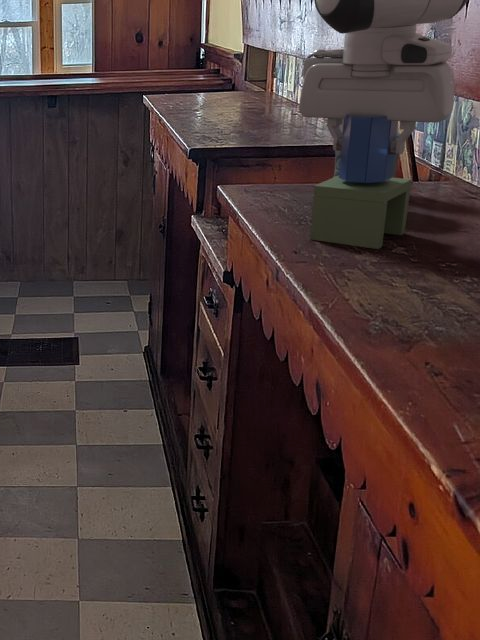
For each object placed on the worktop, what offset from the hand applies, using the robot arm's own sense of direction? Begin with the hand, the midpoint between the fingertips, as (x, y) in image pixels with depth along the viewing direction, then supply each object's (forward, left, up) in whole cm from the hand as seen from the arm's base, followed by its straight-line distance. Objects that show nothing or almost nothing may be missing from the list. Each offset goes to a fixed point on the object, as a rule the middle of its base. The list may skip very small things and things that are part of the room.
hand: (367, 152), depth 123 cm
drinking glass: (+6, -16, -13) cm, 21 cm away
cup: (0, 0, -4) cm, 4 cm away
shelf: (0, 0, -12) cm, 12 cm away
